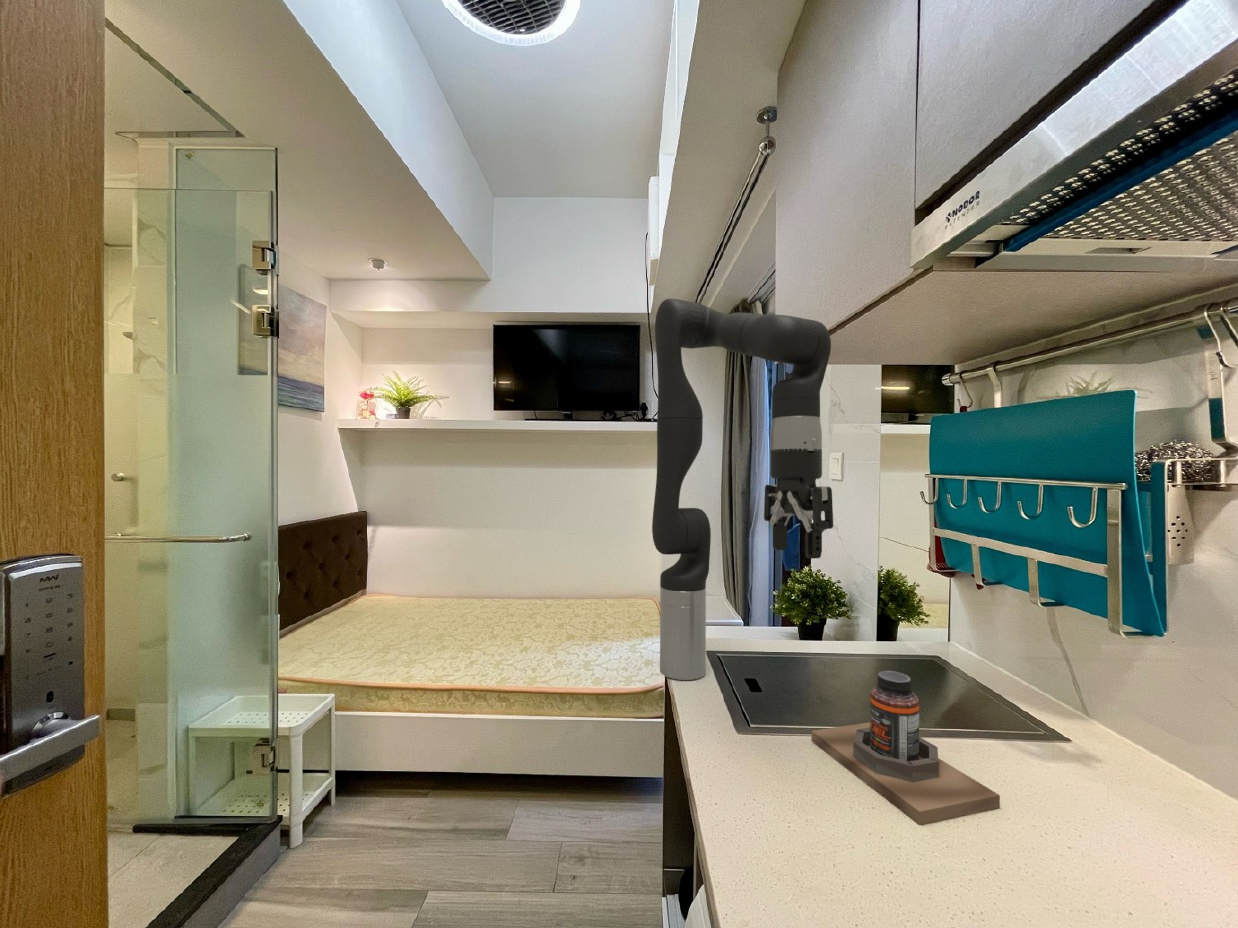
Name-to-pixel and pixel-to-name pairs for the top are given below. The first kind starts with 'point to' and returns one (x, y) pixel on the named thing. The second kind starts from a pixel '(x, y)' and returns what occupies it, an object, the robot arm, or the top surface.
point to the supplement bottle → (894, 717)
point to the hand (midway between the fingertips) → (795, 553)
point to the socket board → (908, 793)
